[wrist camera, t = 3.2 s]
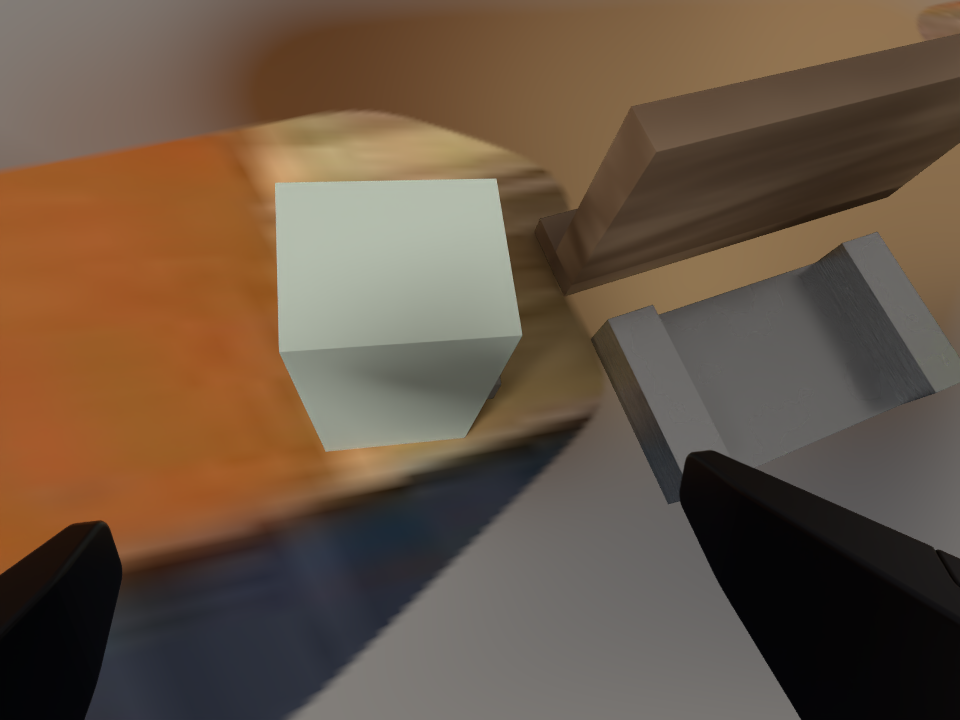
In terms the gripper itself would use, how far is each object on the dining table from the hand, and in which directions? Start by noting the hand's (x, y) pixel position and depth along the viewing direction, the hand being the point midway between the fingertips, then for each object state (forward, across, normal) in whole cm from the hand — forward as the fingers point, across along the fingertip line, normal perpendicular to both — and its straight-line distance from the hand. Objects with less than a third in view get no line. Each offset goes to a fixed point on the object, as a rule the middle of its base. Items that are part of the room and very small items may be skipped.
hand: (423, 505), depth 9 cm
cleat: (+12, -16, +5) cm, 20 cm away
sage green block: (+12, 0, +5) cm, 13 cm away
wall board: (+17, -16, 0) cm, 23 cm away
